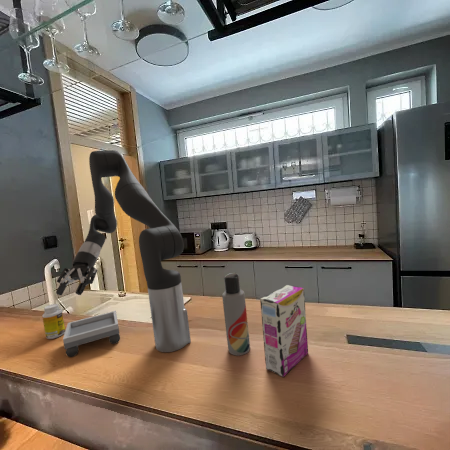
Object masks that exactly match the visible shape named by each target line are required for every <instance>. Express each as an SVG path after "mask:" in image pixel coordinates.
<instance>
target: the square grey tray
mask: <svg viewBox="0 0 450 450" xmlns="http://www.w3.org/2000/svg"><path fill="white" fill-rule="evenodd" d="M119 327H120V326H119V322H118V314H117V311H116V310H113V311H109V312H106V313H102V314H97V315H93V316H90V317H85V318H82V319H78V320H74V321H71V322H67V325H66V327H65V333H64V334H63V338H62V340H63V348H64V350H66V351H65V356H66V357H68V358H73V357H76V356H77V354H79V353H78V352H79V348H80V347H79V346H81V345H84V344H87V343H91V342H94V341H98V340H100V339H104V338H108V341H109V343H110V344H111V345H115V344H118V343H119V342H120V340H121V334H120V328H119Z"/></svg>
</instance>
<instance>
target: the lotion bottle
mask: <svg viewBox="0 0 450 450" xmlns="http://www.w3.org/2000/svg"><path fill="white" fill-rule="evenodd" d="M223 280H224V292H223V293H222V294H221V296H222V298H221V299H222V306H223V314H224V325H225V332H226V333H225V335H226V342H227V349H228V350H227V351H228V352H229V354H231V355H233V356H243V355H246V354H248V353H249V352H250V349H251V341H250V335H249V325H248V314H247V306H246V296H245V295H246V294H245V291H244V290H243V289H241V285H240V284H241V283H240V276H239V274H238V273H237V272H229V273H227V274H226V275H225V276H223Z"/></svg>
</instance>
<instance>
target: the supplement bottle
mask: <svg viewBox="0 0 450 450" xmlns="http://www.w3.org/2000/svg"><path fill="white" fill-rule="evenodd" d="M43 312H44V313H43V314H42V315H41V316H42V322H43V328H44V332H45V333H44V335H45V338H46V339H48V340H53V339H57V338H59V337H61V336H64V334H65V331H66V327H65V320H64V314H63V313H64V312H63V309H62V308H60V307H59V304H58V303H51V304H49V305H46V306H44V307H43Z"/></svg>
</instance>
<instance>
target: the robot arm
mask: <svg viewBox="0 0 450 450" xmlns="http://www.w3.org/2000/svg"><path fill="white" fill-rule="evenodd" d="M88 157H89V158H88V159H89V160H88V162H89V172H90V177H91V183H92V189H93V195H94V213H95V214H94V215H93V216H92V217H91V219H90V222H89V223H90V224H89V229H88V233H87V236H86V237H85V239H84V242H83V243H82V244H81V246H80V247H79V249H78V250H77V253H76V255H75V256H74V259H73V261H72V267H70V268H67V267H64V268H63V270H62V272H61V273H60V275H59V276H58V278H57V280H56V282H57V283H58V284H59V285H58V287H57V290H56V292H55V294H56V295H58V296H63V294H64V292H65V290H66V288H67V286H68V285H70V284H71V283H73V282H74V281H80V283H79V284H78V285H77V288H76V289H75V294H76V295H77V296H82V294H83V293H84V291H85V289H86V287H87V286H88V285H92V284H93V283H94V281H95V278H96V275H97V273H98V269H97V268H96V267H95V265H96V263H97V260H98V259H99V256H100V254H101V250H102V249H103V247H104V244H105V241H106V236H105V235H104V234H103V233H105V234H112V233H114V232H115V231H116V230H117V228H118V227H117V225H118V221H117V218H116V214H115V212H114V210H115V208H114V207H115V206H114V205H115V200H116V202H117V204H118V205H119V207H120V208H121V210H122V211H123V212H124V213H125V214H126V215H127V216H128V217H130V218H131V219H133V220H135V221H137V222H139V223H141V224H142V225H145V226H146V227H148V228H145V229H143V230H141V232H140V233H139V236H138V247H139V253H140V258H141V262H142V266H143V267H142V268H143V275H144V279H145V282H146V285H147V293H148V301H149V307H150V308H149V310H150V316H151V322H152V330H153V338H154V344H155V345H154V346H155V349H156V351H159V352H161V353H171V352H176V351H178V350H180V349H183V348H184V347H185V346H186V345H187V344H191V340H192V339H191V332H190V324H189V316H188V310H187V308H186V307H185V301H184V300H185V299H184V294H183V284H182V276H181V273H180V271H178V270H176V269H166V268H164V267H163V265H162V261H167V260H169V259H174V258H176V257H179V256H180V255H181V254H182V253H183V251H184V248H185V244H184V240H183V236H182V234H181V232H180V231H179V229H178V228H177V227H176V225H175V224H174V223H173V222H172V221H171V220H170V219H169V218H168V217H167V215H165V214H164V213H163V211H162V210H160V208H159V207H158V206H157V205H156V203H155V202H154V201H153V199H152V198H151V196H150V195H149V193H148V192H147V191H146V189H145V187H144V186H143V185H142V184H141V183H140V182H139V180H138V179H137V178H136V176H135V175H134V173H133V172H132V169H131V168H130V166H129V165H128V163H127V161H126V159H125V157H124V156H123V154H121V152H120V151H118V150H116V149H113V150H110V149H108V150H107V149H106V150H93V151H91V152H90V154H89V156H88ZM112 177H117V178H119V179H118V181H117V184H116V186H115V189H114V196H113V194H112V193H111V192H110V190H109V189H108V188H107V186H105V184H104V183H103V180H102V179H103V178H112ZM114 198H115V199H114Z"/></svg>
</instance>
